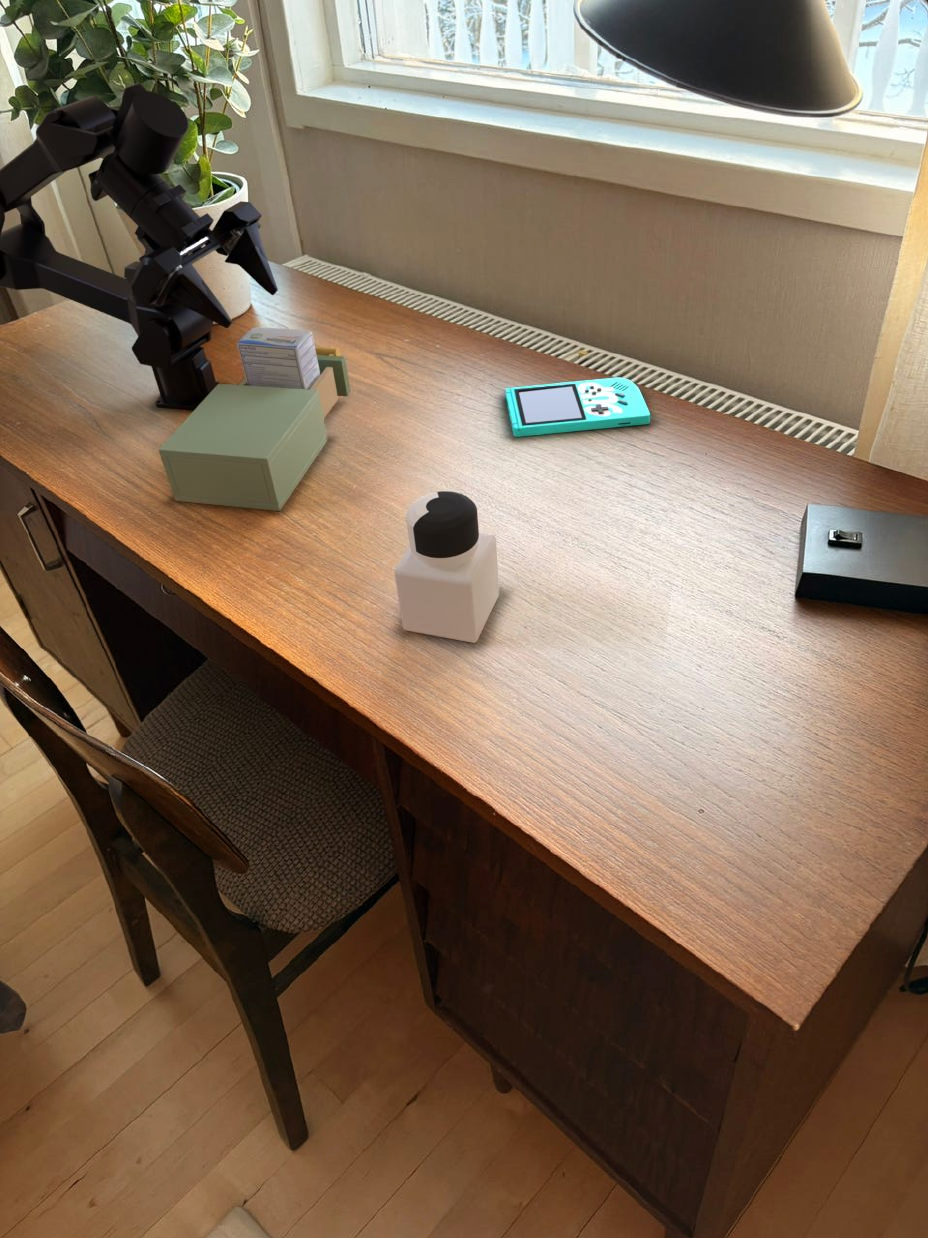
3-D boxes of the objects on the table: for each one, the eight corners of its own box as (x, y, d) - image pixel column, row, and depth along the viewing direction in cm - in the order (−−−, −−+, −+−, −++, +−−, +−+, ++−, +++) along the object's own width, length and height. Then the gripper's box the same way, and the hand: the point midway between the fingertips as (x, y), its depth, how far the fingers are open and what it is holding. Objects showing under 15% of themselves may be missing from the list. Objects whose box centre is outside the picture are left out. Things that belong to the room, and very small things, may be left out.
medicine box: (326, 396, 115) (313, 329, 110) (310, 414, 112) (296, 346, 107) (268, 390, 118) (253, 324, 112) (252, 408, 115) (235, 341, 109)
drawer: (281, 369, 124) (274, 334, 121) (363, 374, 122) (357, 339, 118) (221, 441, 111) (211, 405, 108) (311, 448, 109) (303, 411, 106)
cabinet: (231, 432, 115) (218, 383, 110) (328, 440, 112) (318, 389, 107) (175, 500, 104) (158, 449, 100) (279, 511, 101) (266, 458, 97)
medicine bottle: (500, 594, 88) (494, 487, 80) (476, 645, 83) (467, 536, 75) (429, 582, 90) (416, 477, 82) (402, 631, 85) (385, 524, 78)
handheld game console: (650, 425, 109) (651, 414, 108) (513, 438, 109) (512, 428, 108) (633, 383, 116) (633, 373, 116) (504, 396, 116) (504, 386, 116)
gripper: (176, 220, 117) (268, 316, 120) (71, 279, 105) (177, 383, 108) (211, 156, 109) (309, 261, 112) (102, 211, 97) (215, 327, 100)
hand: (253, 308), depth 108 cm, fingers open, 9 cm apart
